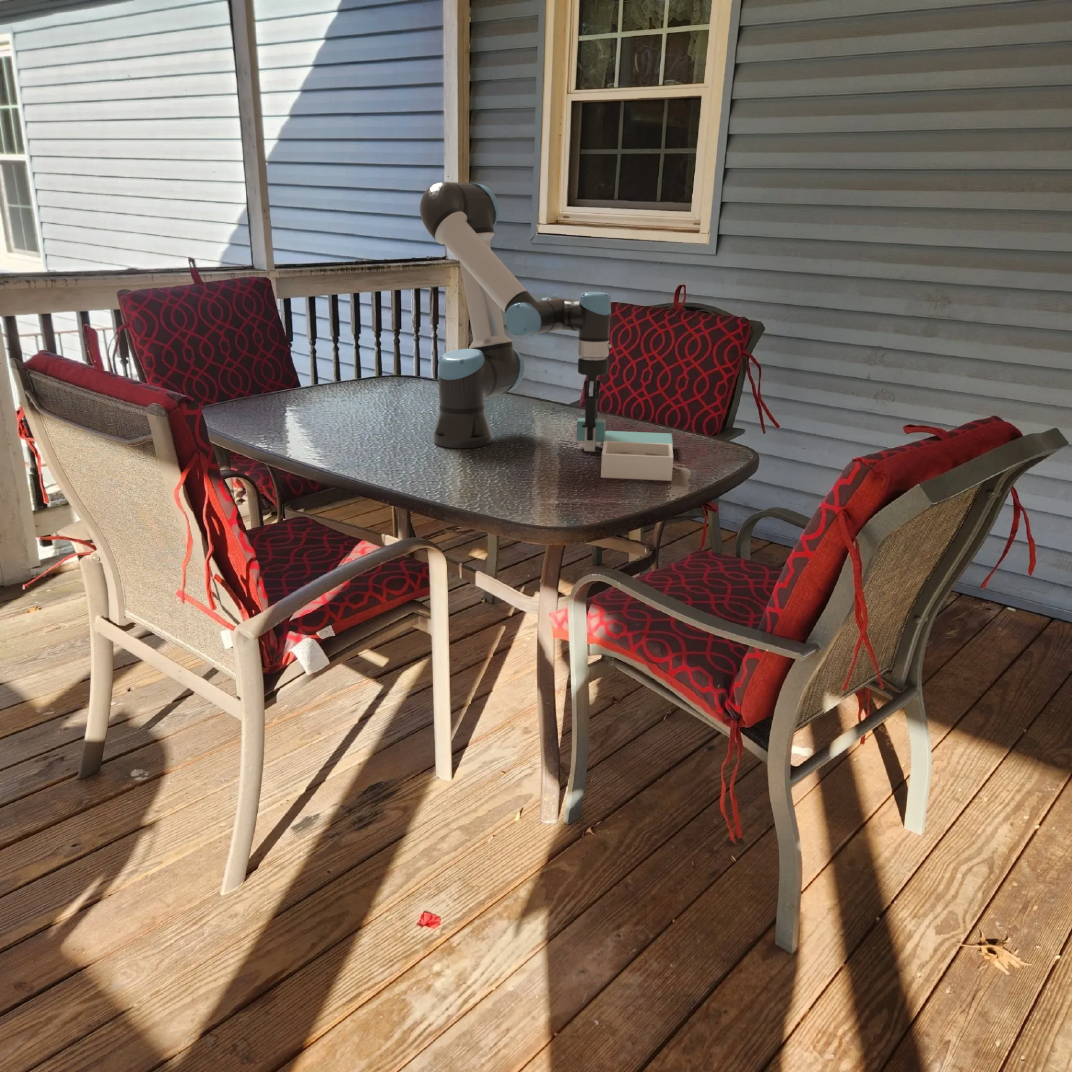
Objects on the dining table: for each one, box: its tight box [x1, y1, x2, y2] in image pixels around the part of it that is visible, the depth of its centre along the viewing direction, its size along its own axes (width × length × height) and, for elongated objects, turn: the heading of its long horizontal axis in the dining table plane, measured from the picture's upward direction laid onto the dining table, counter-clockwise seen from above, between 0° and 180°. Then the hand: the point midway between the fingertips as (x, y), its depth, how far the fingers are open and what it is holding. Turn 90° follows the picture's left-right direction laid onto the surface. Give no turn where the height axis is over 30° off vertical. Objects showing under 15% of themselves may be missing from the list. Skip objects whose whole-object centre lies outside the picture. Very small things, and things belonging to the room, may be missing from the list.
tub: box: [600, 441, 674, 482], centre depth 198 cm, size 16×12×6 cm
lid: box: [575, 417, 674, 449], centre depth 216 cm, size 24×13×5 cm, turn 83°
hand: (590, 449), depth 218 cm, fingers closed on lid, 4 cm apart
